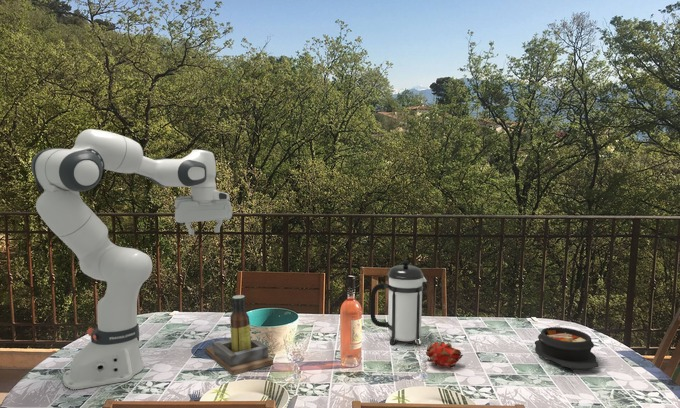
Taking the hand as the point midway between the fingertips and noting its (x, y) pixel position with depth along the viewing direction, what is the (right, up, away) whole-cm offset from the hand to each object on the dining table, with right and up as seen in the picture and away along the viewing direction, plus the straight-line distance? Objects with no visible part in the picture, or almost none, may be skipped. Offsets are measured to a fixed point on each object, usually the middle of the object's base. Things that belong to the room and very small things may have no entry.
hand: (204, 233), depth 175 cm
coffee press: (+71, -40, +3) cm, 82 cm away
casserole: (+124, -41, -13) cm, 131 cm away
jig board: (+15, -41, -14) cm, 45 cm away
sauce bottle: (+16, -39, -15) cm, 45 cm away
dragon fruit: (+82, -42, -19) cm, 94 cm away
